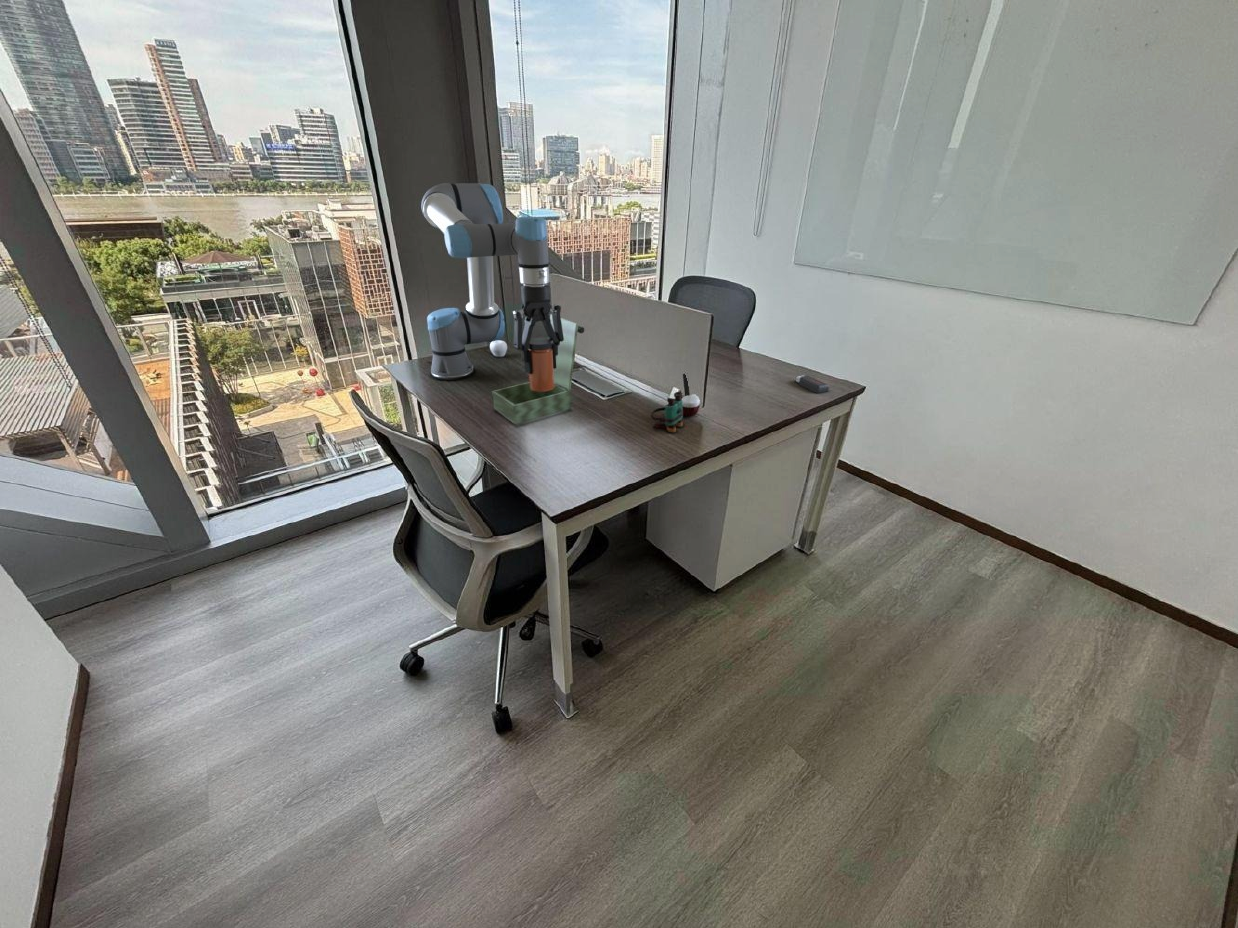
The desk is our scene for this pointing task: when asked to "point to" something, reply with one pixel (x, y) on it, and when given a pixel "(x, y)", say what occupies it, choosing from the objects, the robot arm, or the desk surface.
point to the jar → (541, 365)
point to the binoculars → (670, 414)
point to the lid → (566, 353)
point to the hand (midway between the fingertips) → (541, 369)
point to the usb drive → (812, 384)
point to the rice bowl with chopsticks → (689, 401)
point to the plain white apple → (498, 348)
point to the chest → (530, 402)
